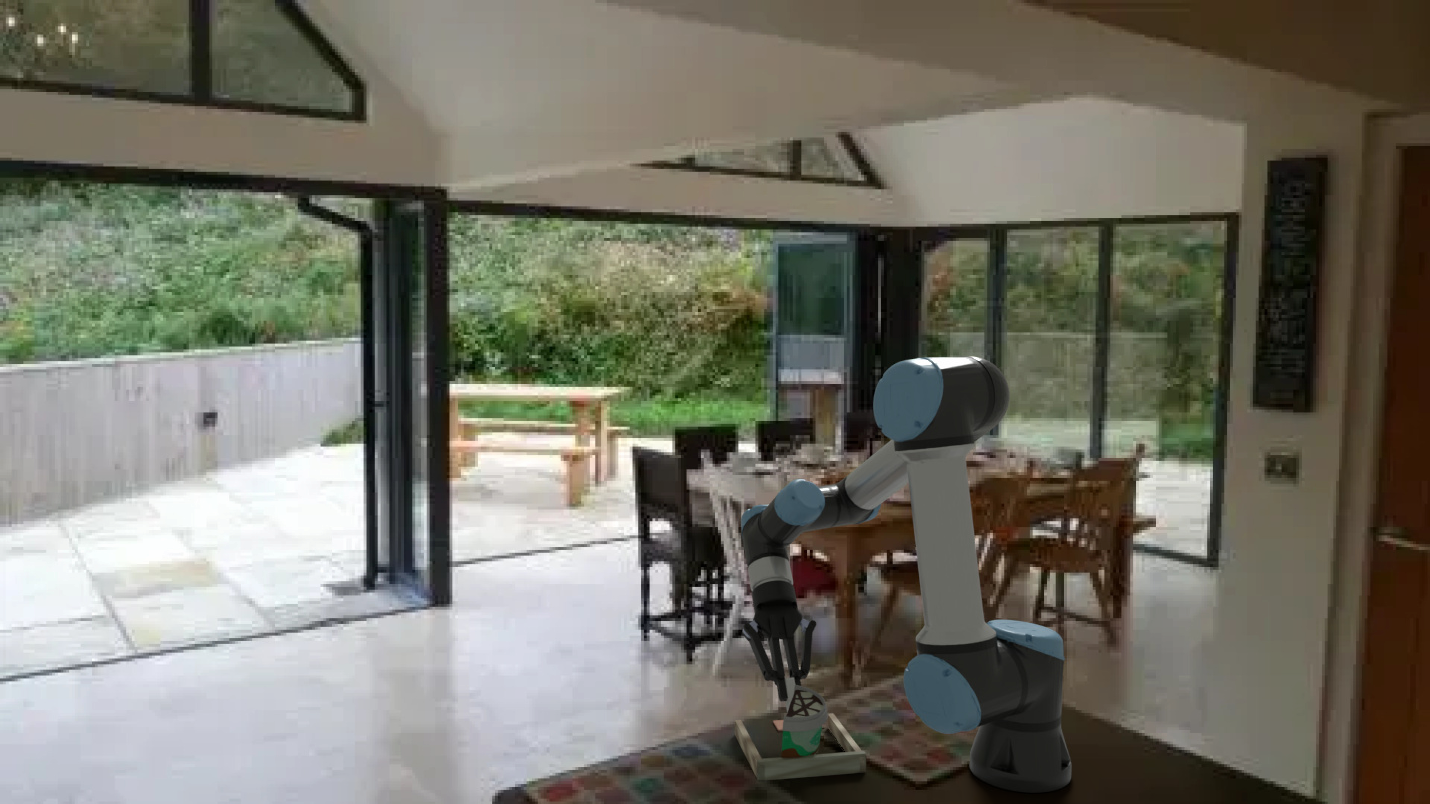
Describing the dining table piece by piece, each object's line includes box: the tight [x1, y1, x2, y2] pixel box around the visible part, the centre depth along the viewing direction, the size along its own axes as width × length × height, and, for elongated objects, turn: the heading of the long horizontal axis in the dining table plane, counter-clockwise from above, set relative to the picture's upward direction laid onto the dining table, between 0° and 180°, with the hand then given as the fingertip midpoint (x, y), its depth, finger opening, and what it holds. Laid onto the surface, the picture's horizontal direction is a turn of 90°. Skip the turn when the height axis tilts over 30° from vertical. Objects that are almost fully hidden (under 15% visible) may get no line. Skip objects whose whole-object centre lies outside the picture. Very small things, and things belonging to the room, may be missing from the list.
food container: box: [780, 685, 829, 758], centre depth 171 cm, size 12×6×10 cm, turn 168°
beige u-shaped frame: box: [734, 712, 867, 781], centre depth 176 cm, size 18×17×3 cm
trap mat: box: [772, 719, 784, 732], centre depth 187 cm, size 4×8×1 cm, turn 101°
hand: (794, 719), depth 177 cm, fingers closed
